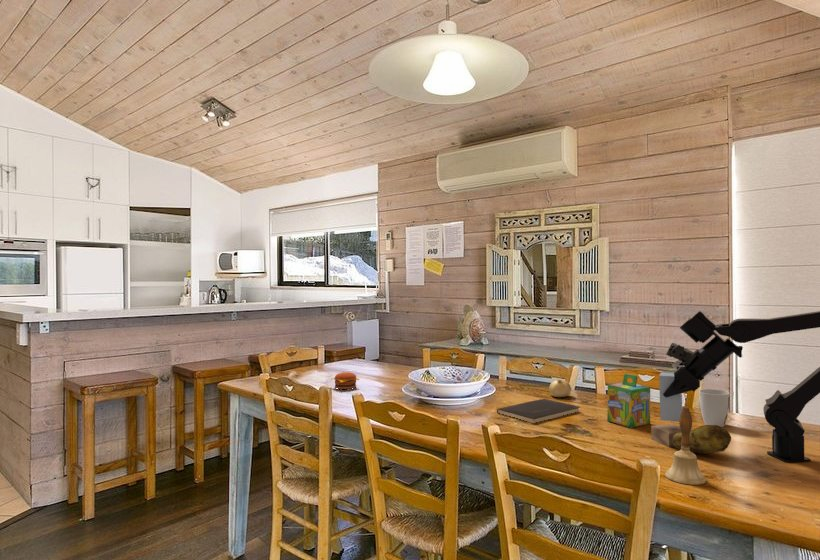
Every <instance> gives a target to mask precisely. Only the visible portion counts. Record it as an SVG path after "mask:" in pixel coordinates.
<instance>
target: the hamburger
mask: <svg viewBox="0 0 820 560" xmlns="http://www.w3.org/2000/svg"><path fill="white" fill-rule="evenodd" d="M331 380H332V381H333V380H334V389H335V388H338V389H351V390H353V389H352V388H355V387H356V388H357V381H360V378H359V377H358V376H357V375H356V374H355V373H353V372H351V371H343V372H339V373H337V374H335V376H334V377H333V378H331ZM356 388H355V389H356Z"/></svg>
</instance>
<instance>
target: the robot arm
mask: <svg viewBox="0 0 820 560" xmlns="http://www.w3.org/2000/svg"><path fill="white" fill-rule="evenodd" d="M817 328H819V329H820V310H818V311H812V312H805V313H799V314H791V315H786V316H784V315H783V316H779V317H778V316H777V317H771V318H736V319H733V320H731V321H730V323H724V324H721V323H719V324H715V323H714V322H713V321H712V320H710V319H709V318H708V317H707V316H706V315H705V313H704V312H703V311H701V310H698V311H697V312H696V313H695V314H694V315H693V316H691V317H690V318H688V319H687V320H686V321H685V322H684V323H683V324H682V325H681V326H679V329H681V330H682V331H683V333H684V334H686V335H687V336H688V337H689V338H690V339H691V340H693V341H694V342H695V343H702V344H704V343H705V342H707V341H708V340H709V339H710V338H711V340H709V341H708V342H707V343H706V344H704V345H703V346H702V347H701V348H700V349H696V350H695V351H692V350H690V349H689V348H685V346H683V345H681V344H678V343H674V342H672V343H670V346H669V348H668V349H667V352H666V356H668V357H670V358H674V359H677V360H678V361H679V362H678V365H677V366H676V370H675V371H674V372H673V373H674V381H673V382H672V383H671V385H670V386H669V387H668V388H667V390H666V391H665V392H664V393H663V395H664V396H665V397H670V396H673V395H677V394H680V393H682V394H684V393H686V392H691V391H692V392H695V391H697V390H698V389H699V388H700V387H701V381H703V380H704V379H705V377H706V376H707V375H708V374H710V373H711V372H713V371H715V370H717V368H718V367H719V366H720V364H722V363H723V362H724V361H725V360H727V359H728V358H730V356H731V355H733V354H735V355H736V356H737V357H738V358H739V359H740V358H743V353H742V352H743V348H744V347H743V345H736V344H735V343H739V344H745V343H749V342H751V341H755V340H759V339H762V338H764V337H768V336H771V335H773V334H782V333H789V332H796V331H802V330H810V329H811V330H812V329H817ZM712 336H714V337H712ZM721 336H724V337H728V338H726V339H725V338H722V337H721ZM729 337H730V339H729ZM733 341H734V342H733ZM818 395H820V366H819V367H818V368H816V369H815V370H814V371H813V372H812V373H810V374H809V375H808V376H807V377H805V378H804V379H803V380H802V381H801V382H799V383H798V384H797V385H796V386H795V387H793V388H792V389H791V390H789V391H787V392H784V393H782V392H781V391H780V390H779V389H778V390H776V391H775V392H774V394H772V396H771V397H769V398H766V399H765V404H764V405H763V414H764V419H765V420H766V422H767V424H769V425H770V426H771V427H773V428H772V435H771V438H772V439H771V442H772V443H771V446H772V447H771V448H772V450H769V451H766V454H768V455H770V456H772V457H774V458H776V459H778V460H780V461H783V462H786V463H795V462H797V463H798V462H800V463H801V462H811V461H812V460H811V458H810V457H808V456H806V455H805V435H804V434H805V432H806V431H805V429H804V426H803V425H802V422H801V421H800V420H799V419H798V417H799V416H800V414H801V413H802V411H803V410H804V408H805V406H806V405H808V403H809V402H811V401H812V400H813V399H814V398H816V397H817V396H818Z"/></svg>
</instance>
